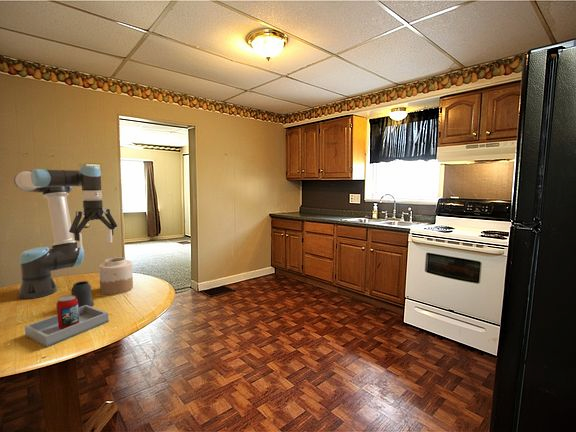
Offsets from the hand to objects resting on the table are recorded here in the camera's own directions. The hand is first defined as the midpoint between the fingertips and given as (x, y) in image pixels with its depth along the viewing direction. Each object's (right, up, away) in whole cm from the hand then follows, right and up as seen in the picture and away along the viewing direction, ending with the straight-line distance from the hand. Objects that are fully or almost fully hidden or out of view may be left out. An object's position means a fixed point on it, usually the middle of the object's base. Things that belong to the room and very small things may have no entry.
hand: (95, 244), depth 139 cm
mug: (-7, -29, +1) cm, 30 cm away
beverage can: (+3, -31, -21) cm, 37 cm away
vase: (-2, -27, +21) cm, 34 cm away
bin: (+3, -32, -21) cm, 38 cm away
